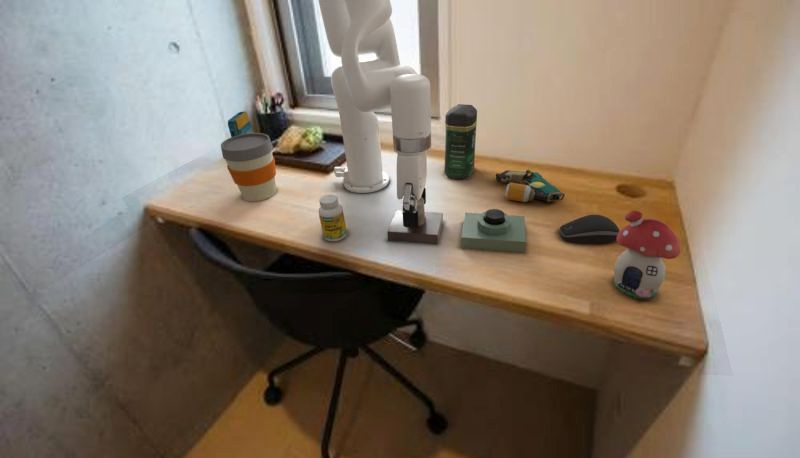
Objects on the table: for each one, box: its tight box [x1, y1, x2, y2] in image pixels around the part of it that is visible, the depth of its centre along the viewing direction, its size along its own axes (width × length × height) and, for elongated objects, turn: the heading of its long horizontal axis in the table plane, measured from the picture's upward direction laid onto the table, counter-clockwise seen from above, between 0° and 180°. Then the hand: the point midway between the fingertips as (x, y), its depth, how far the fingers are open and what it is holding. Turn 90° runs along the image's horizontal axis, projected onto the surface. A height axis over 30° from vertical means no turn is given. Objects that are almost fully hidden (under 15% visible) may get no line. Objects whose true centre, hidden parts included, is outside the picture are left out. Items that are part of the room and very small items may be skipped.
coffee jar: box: [444, 103, 478, 180], centre depth 112 cm, size 10×8×19 cm
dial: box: [410, 195, 426, 226], centre depth 90 cm, size 4×4×6 cm
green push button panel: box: [460, 211, 527, 253], centre depth 89 cm, size 13×10×4 cm
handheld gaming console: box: [227, 111, 255, 138], centre depth 127 cm, size 10×4×15 cm, turn 174°
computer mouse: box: [559, 214, 621, 245], centre depth 87 cm, size 7×12×4 cm, turn 88°
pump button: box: [484, 208, 505, 225], centre depth 87 cm, size 4×4×2 cm
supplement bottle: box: [318, 193, 348, 242], centre depth 91 cm, size 5×5×10 cm
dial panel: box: [386, 209, 444, 245], centre depth 93 cm, size 11×9×2 cm
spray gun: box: [495, 168, 565, 203], centre depth 105 cm, size 4×17×15 cm
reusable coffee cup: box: [220, 132, 277, 202], centre depth 109 cm, size 13×13×15 cm
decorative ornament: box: [613, 210, 681, 301], centre depth 70 cm, size 9×6×15 cm
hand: (415, 214), depth 91 cm, fingers open, 9 cm apart
